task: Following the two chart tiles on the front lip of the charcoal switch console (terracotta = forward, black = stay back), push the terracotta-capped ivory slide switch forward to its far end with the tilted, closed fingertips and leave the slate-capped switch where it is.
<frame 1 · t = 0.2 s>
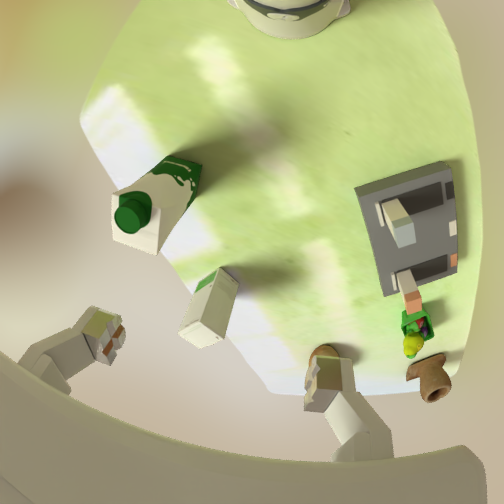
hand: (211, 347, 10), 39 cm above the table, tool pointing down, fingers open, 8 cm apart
skincare box: (219, 282, 63), on the table
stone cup: (424, 361, 72), on the table
bread roll: (326, 356, 75), on the table
fruit basket: (412, 317, 61), on the table
switch A: (409, 291, 46), point 8 cm above the table, slide at 0.0 cm
console: (411, 228, 47), on the table
milk carton: (181, 177, 49), on the table
switch B: (398, 221, 38), point 8 cm above the table, slide at 0.0 cm
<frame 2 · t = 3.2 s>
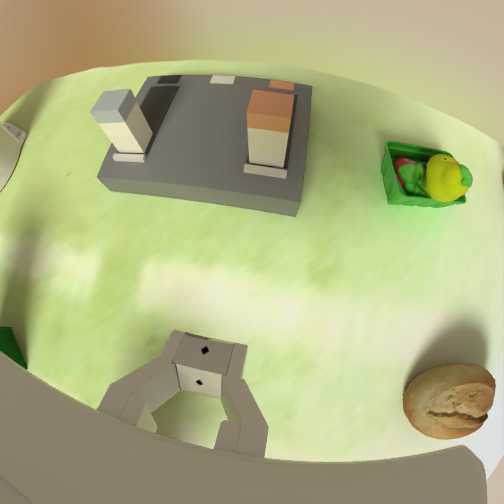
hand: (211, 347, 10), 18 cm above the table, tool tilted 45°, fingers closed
bread roll: (440, 395, 26), on the table
fruit basket: (411, 193, 32), on the table
switch A: (269, 131, 24), point 8 cm above the table, slide at 0.0 cm
console: (211, 140, 34), on the table
milk carton: (10, 357, 27), on the table
switch B: (123, 123, 25), point 8 cm above the table, slide at 0.0 cm
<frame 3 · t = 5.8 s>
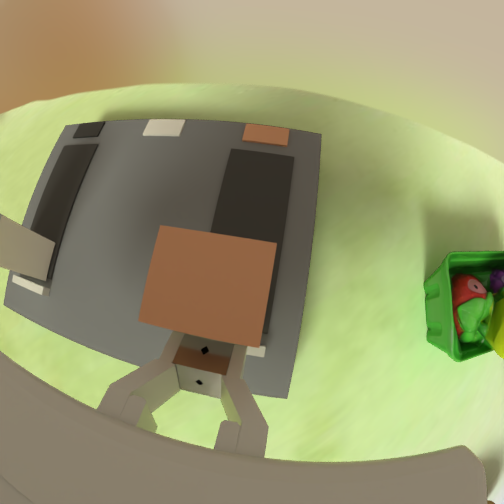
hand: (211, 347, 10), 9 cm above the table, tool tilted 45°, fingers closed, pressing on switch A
fruit basket: (460, 313, 19), on the table
switch A: (223, 297, 12), point 8 cm above the table, slide at 0.1 cm, touching gripper
console: (150, 239, 21), on the table
switch B: (2, 243, 13), point 8 cm above the table, slide at 0.0 cm
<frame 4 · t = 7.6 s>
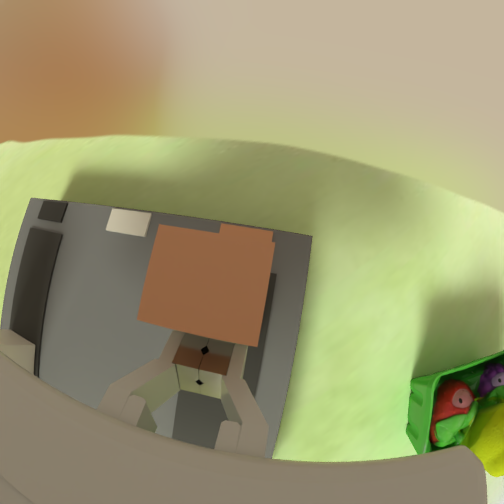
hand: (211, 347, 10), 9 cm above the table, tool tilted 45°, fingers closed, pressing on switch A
fruit basket: (445, 400, 17), on the table
switch A: (222, 296, 12), point 8 cm above the table, slide at 8.2 cm, touching gripper
console: (128, 337, 19), on the table
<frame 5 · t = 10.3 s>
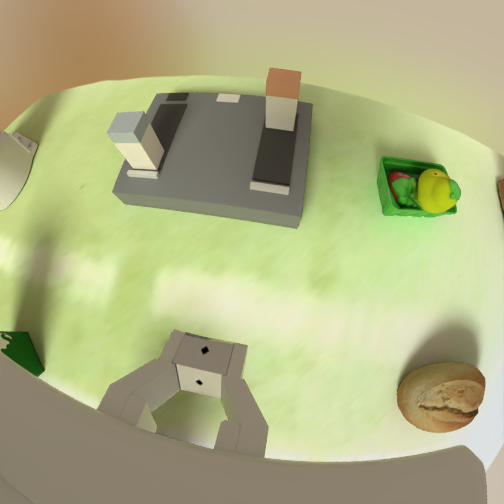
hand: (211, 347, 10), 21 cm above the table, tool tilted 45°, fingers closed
bread roll: (433, 392, 28), on the table
fruit basket: (406, 204, 35), on the table
switch A: (282, 100, 29), point 8 cm above the table, slide at 8.2 cm
console: (218, 156, 37), on the table
milk carton: (27, 360, 30), on the table
switch B: (137, 142, 29), point 8 cm above the table, slide at 0.0 cm
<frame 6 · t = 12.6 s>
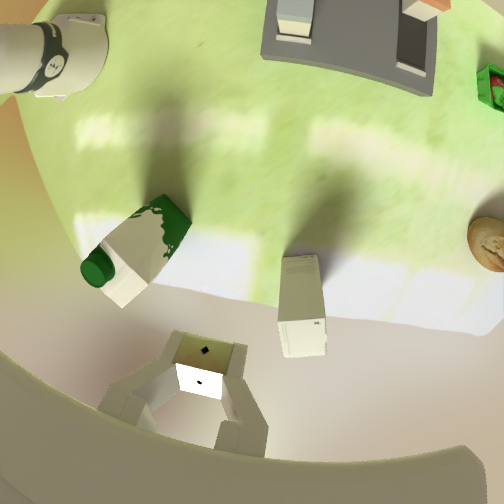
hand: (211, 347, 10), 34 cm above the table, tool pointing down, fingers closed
skincare box: (302, 274, 49), on the table
bread roll: (487, 236, 39), on the table
fruit basket: (493, 95, 26), on the table
switch A: (424, 1, 17), point 8 cm above the table, slide at 8.2 cm
console: (352, 21, 26), on the table
milk carton: (166, 219, 47), on the table
switch B: (295, 16, 22), point 8 cm above the table, slide at 0.0 cm
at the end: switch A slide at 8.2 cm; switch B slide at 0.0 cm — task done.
